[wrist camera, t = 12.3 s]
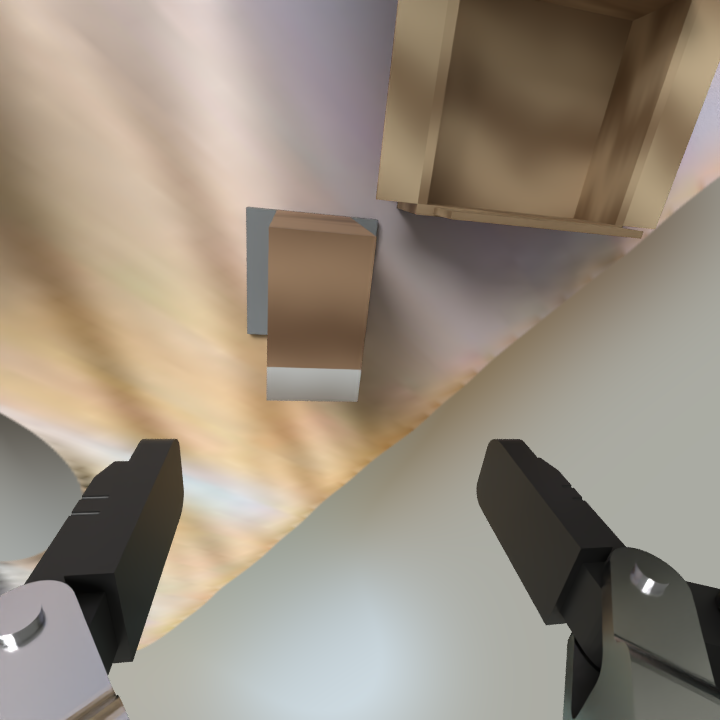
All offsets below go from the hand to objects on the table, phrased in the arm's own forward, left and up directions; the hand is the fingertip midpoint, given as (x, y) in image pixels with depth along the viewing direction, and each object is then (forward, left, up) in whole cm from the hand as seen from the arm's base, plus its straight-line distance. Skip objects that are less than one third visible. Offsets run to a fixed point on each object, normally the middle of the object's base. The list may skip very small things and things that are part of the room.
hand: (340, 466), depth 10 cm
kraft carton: (-12, +13, -22) cm, 28 cm away
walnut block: (0, 0, -21) cm, 21 cm away
